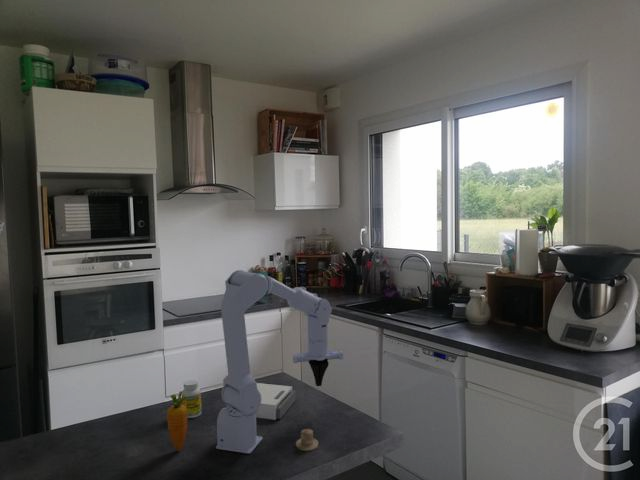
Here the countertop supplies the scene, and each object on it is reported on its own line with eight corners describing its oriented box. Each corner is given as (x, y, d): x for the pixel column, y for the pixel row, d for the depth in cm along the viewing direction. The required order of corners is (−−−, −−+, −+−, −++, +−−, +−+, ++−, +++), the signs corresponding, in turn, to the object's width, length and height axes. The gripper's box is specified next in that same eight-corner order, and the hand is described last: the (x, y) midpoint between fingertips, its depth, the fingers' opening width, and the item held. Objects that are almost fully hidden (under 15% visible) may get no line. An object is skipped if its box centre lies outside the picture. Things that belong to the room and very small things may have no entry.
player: (230, 414, 138) (230, 399, 137) (251, 395, 151) (251, 382, 151) (275, 419, 134) (275, 404, 133) (292, 400, 147) (292, 386, 147)
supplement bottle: (199, 408, 142) (198, 377, 141) (203, 415, 137) (202, 383, 136) (180, 412, 139) (179, 381, 138) (184, 420, 134) (183, 387, 134)
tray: (237, 413, 137) (237, 403, 137) (256, 395, 150) (256, 386, 150) (280, 418, 134) (280, 408, 133) (295, 400, 146) (295, 390, 146)
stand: (292, 449, 118) (292, 435, 117) (300, 438, 123) (300, 425, 123) (314, 452, 116) (314, 438, 116) (320, 441, 121) (320, 428, 121)
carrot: (181, 443, 121) (179, 386, 120) (193, 449, 118) (191, 391, 117) (164, 451, 117) (161, 393, 116) (175, 458, 114) (173, 398, 113)
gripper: (295, 344, 131) (295, 392, 132) (345, 340, 134) (346, 387, 135) (291, 337, 137) (292, 383, 138) (339, 334, 140) (340, 378, 141)
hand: (318, 384), depth 137 cm, fingers closed
